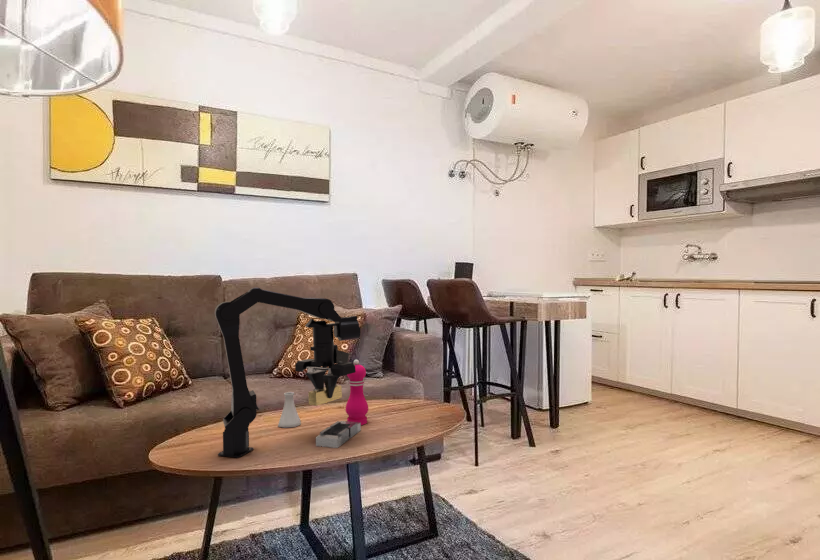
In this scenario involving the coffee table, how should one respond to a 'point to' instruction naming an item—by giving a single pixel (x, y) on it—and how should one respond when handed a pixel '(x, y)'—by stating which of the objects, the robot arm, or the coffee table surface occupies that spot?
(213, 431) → the coffee table surface
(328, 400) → the link bar
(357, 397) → the pepper mill
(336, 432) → the grey metal base
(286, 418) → the flask
